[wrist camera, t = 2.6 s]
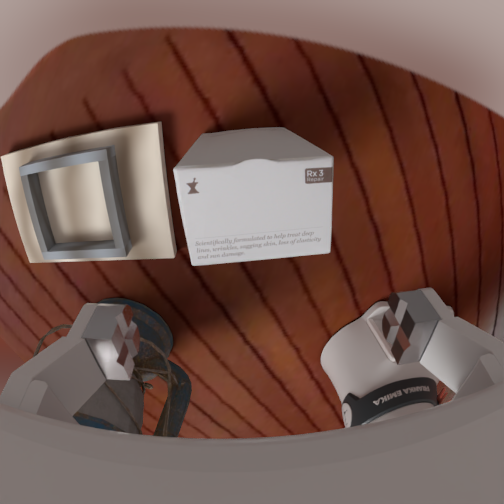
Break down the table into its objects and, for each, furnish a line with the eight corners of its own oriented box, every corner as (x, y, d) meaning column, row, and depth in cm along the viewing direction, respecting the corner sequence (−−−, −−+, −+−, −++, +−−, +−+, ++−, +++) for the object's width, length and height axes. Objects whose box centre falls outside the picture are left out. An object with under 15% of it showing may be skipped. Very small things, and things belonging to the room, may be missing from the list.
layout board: (161, 121, 26) (151, 125, 23) (176, 250, 33) (171, 268, 30) (8, 153, 26) (-10, 161, 23) (35, 256, 33) (22, 271, 30)
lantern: (78, 351, 42) (21, 519, 16) (57, 278, 35) (-50, 477, 9) (196, 370, 44) (182, 567, 18) (199, 297, 37) (170, 568, 11)
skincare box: (207, 189, 30) (183, 273, 17) (200, 129, 27) (163, 168, 14) (292, 182, 30) (332, 262, 17) (290, 122, 27) (337, 156, 14)
